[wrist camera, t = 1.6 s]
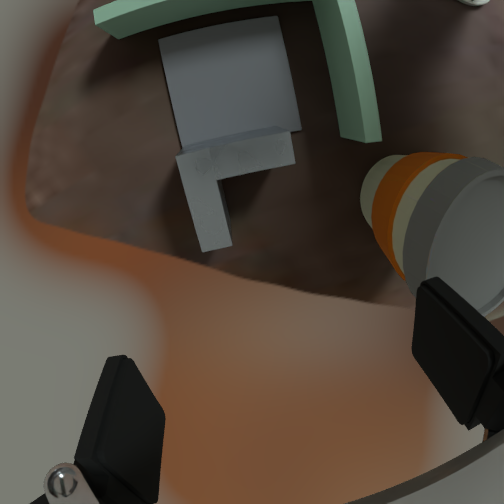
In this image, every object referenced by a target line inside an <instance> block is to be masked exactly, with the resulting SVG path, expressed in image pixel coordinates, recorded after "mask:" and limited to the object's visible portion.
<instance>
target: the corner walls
mask: <svg viewBox="0 0 504 504" xmlns="http://www.w3.org/2000/svg"><path fill="white" fill-rule="evenodd" d="M298 1H312V2H313V6H314V10H315V13H316V17H317V21H318V25H319V29H320V34H321V38H322V42H323V46H324V51H325V55H326V60H327V65H328V69H329V74H330V79H331V84H332V90H333V95H334V101H335V106H336V112H337V118H338V124H339V131H340V137H343V138H347V139H351V140H356V141H360V142H364V143H370V142H378V141H382V136H381V128H380V120H379V113H378V107H377V100H376V94H375V88H374V82H373V77H372V72H371V67H370V62H369V57H368V52H367V48H366V43H365V39H364V34H363V30H362V26H361V22H360V18H359V15H358V11H357V7H356V4H355V0H117V1H114V2H112V3H109V4H107V5H104V6H102V7H99V8H97V9H95V10H93V12H94V19H95V25H96V26H98V27H100V28H101V29H103V30H104V31H106V32H107V33H109V34H111V35H112V36H114V37H115V38H117V39H121V38H124V37H127V36H130V35H132V34H135V33H138V32H141V31H144V30H148V29H151V28H154V27H157V26H161V25H164V24H168V23H172V22H175V21H179V20H183V19H187V18H191V17H195V16H200V15H204V14H209V13H214V12H219V11H224V10H230V9H236V8H242V7H249V6H256V5H265V4H274V3H284V2H298Z"/></svg>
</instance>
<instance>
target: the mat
mask: <svg viewBox="0 0 504 504" xmlns="http://www.w3.org/2000/svg"><path fill="white" fill-rule="evenodd" d="M158 42H159V46H160V51H161V56H162V61H163V66H164V70H165V75H166V79H167V84H168V88H169V93H170V97H171V102H172V106H173V110H174V115H175V119H176V123H177V128H178V132H179V136H180V140H181V144H182V148H183V147H184V146H186V145H189V144H193V143H197V142H202V141H206V140H210V139H214V138H218V137H223V136H227V135H232V134H237V133H241V132H246V131H251V130H256V129H261V128H267V127H272V126H278V127H281V128H283V129H285V130H288V131H290V132H293V131H299V130H302V128H301V122H300V117H299V112H298V106H297V101H296V96H295V91H294V86H293V81H292V77H291V72H290V67H289V63H288V58H287V54H286V49H285V45H284V40H283V36H282V32H281V28H280V24H279V20H278V16H271V17H263V18H255V19H248V20H242V21H236V22H230V23H225V24H220V25H215V26H210V27H205V28H201V29H196V30H192V31H188V32H184V33H180V34H176V35H173V36H169V37H165V38H162V39H158Z"/></svg>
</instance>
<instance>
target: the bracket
mask: <svg viewBox="0 0 504 504" xmlns="http://www.w3.org/2000/svg"><path fill="white" fill-rule="evenodd" d="M175 157H176V160H177V164H178V168H179V172H180V175H181V179H182V183H183V187H184V190H185V194H186V198H187V201H188V205H189V208H190V212H191V215H192V219H193V222H194V226H195V229H196V233H197V236H198V240H199V243H200V246H201V250H202V252H206V251H211V250H215V249H220V248H224V247H229V246H232V234H231V221H230V216H229V212H228V207H227V203H226V199H225V195H224V191H223V186H222V182H221V179H224V178H228V177H233V176H237V175H242V174H247V173H251V172H256V171H261V170H266V169H271V168H276V167H281V166H286V165H292V164H295V158H294V152H293V146H292V140H291V135H290V131H288V130H285V129H283V128H281V127H278V126H272V127H267V128H261V129H256V130H251V131H246V132H241V133H237V134H232V135H227V136H223V137H218V138H214V139H210V140H206V141H202V142H197V143H193V144H189V145H186V146H184V147H183V148H182V149H181V150H180V152H179V153H178V154H177V155H176V156H175Z"/></svg>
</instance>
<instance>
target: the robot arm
mask: <svg viewBox="0 0 504 504" xmlns="http://www.w3.org/2000/svg"><path fill="white" fill-rule="evenodd" d="M458 1H460V2H462V3H464V4H467V5H470V6H479V5H484V4H486V3H488V2H489V1H490V0H458ZM412 354H413V356H414V358H415V359H416V361H417V362H418V364H419V365H420V366H421V368H422V369H423V371H424V372H425V373H426V375H427V376H428V378H429V379H430V381H431V382H432V384H433V385H434V386H435V388H436V389H437V391H438V392H439V394H440V395H441V397H442V398H443V399H444V401H445V403H446V404H447V406H448V407H449V409H450V410H451V411H452V413H453V414H454V416H455V417H456V419H457V421H458V422H459V423H460V424H461V425H463V424H465V426H466V427H467V429H468V430H470V429H472V428H474V427H475V426H477V425H479V424H480V423H481V424H482V425H483V427H484V428H485V429H484V435H483V441H482V443H480V444H479V445H477V446H475V447H473V448H472V449H470V450H468V451H466V452H465V453H463V454H461V455H459V456H458V457H456V458H454V459H452V460H450V461H448V462H446V463H444V464H442V465H440V466H438V467H437V468H434V469H432V470H430V471H428V472H426V473H424V474H422V475H419V476H417V477H415V478H413V479H410V480H408V481H406V482H403V483H401V484H399V485H396V486H394V487H391V488H388V489H386V490H383V491H381V492H378V493H375V494H372V495H370V496H367V497H364V498H361V499H358V500H355V501H352V502H348V503H345V504H504V336H503V335H502V334H501V333H500V332H499V331H498V330H497V329H496V328H495V327H494V326H493V325H492V324H491V323H490V322H489V321H488V320H487V319H486V318H485V317H483V316H482V315H481V314H480V313H479V312H478V311H477V310H476V309H475V308H474V307H473V306H471V305H470V304H469V303H468V302H467V301H466V300H465V299H464V298H463V297H461V296H460V295H459V294H458V293H457V292H456V291H455V290H453V289H452V288H451V287H450V286H449V285H448V284H446V283H445V282H444V281H443V280H442V279H441V278H439V277H433V278H430V279H427V280H424V281H422V282H421V284H420V287H418V288H417V293H416V308H415V321H414V331H413V340H412ZM164 428H165V413H164V411H163V409H162V407H161V406H160V404H159V402H158V401H157V400H156V398H155V396H154V395H153V393H152V391H151V390H150V388H149V386H148V385H147V383H146V381H145V380H144V378H143V376H142V375H141V373H140V371H139V370H138V368H137V366H136V365H135V363H134V361H133V360H132V359H131V358H127V356H126V355H119V356H113V357H108V358H107V360H106V363H105V365H104V368H103V371H102V373H101V376H100V379H99V382H98V385H97V388H96V390H95V393H94V396H93V399H92V402H91V405H90V408H89V411H88V414H87V417H86V420H85V424H84V427H83V430H82V433H81V436H80V440H79V443H78V446H77V450H76V453H75V456H74V459H75V461H74V464H71V463H60V464H58V465H56V466H54V467H53V468H52V469H50V470H49V472H48V473H47V474H46V477H45V479H44V491H45V494H43V495H42V496H40V497H39V498H37V499H36V500H34V501H33V502H31V503H30V504H154V503H157V501H158V495H159V481H160V468H161V457H162V447H163V438H164Z"/></svg>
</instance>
